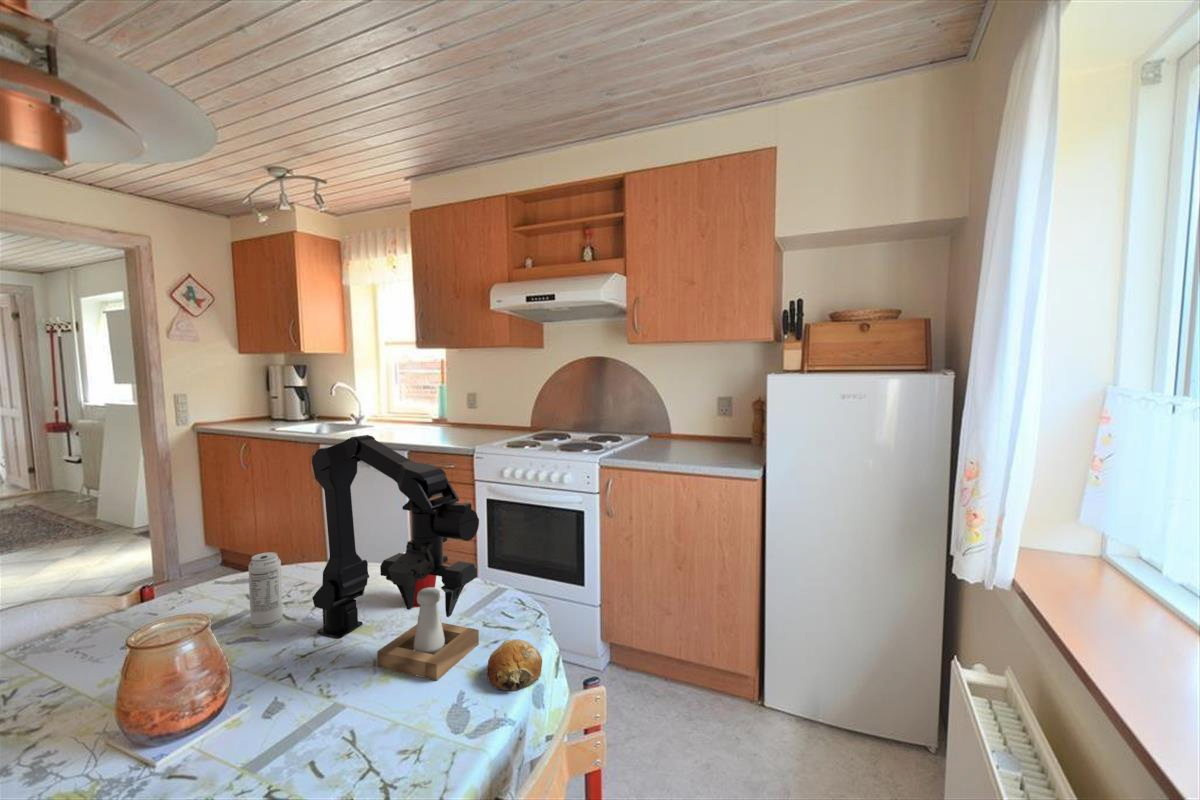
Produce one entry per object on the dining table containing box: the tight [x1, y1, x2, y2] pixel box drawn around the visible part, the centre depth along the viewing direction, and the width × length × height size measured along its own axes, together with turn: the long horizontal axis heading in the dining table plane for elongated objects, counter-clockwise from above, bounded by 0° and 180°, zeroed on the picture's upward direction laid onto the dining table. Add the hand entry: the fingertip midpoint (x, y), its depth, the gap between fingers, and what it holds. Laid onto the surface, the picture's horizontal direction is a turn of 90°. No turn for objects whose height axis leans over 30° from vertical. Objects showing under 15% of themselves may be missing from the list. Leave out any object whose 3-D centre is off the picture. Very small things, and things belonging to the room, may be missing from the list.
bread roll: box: [486, 638, 543, 692], centre depth 95 cm, size 10×10×8 cm
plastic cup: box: [402, 551, 437, 608], centre depth 125 cm, size 11×11×12 cm
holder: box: [376, 622, 480, 681], centre depth 102 cm, size 13×13×3 cm
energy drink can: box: [247, 551, 284, 629], centre depth 115 cm, size 6×6×15 cm
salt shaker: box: [414, 587, 445, 655], centre depth 101 cm, size 6×6×13 cm
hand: (429, 612), depth 101 cm, fingers open, 9 cm apart
